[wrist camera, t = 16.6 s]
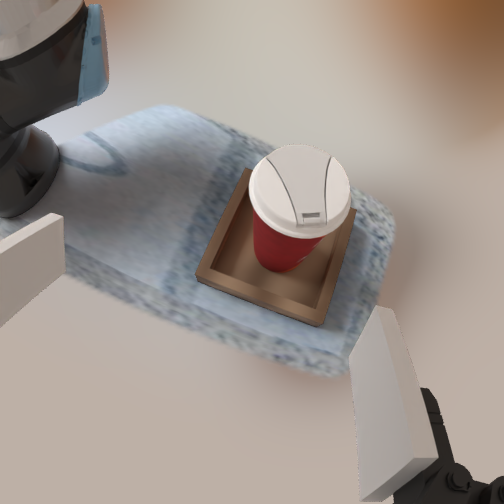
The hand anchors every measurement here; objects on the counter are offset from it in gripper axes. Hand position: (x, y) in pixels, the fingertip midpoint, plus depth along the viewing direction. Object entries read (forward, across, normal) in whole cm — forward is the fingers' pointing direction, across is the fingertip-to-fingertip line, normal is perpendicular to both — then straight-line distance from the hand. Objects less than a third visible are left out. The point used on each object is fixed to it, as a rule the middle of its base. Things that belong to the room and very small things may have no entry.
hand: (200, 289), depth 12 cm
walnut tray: (+25, +3, -8) cm, 27 cm away
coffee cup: (+25, +3, -8) cm, 26 cm away
